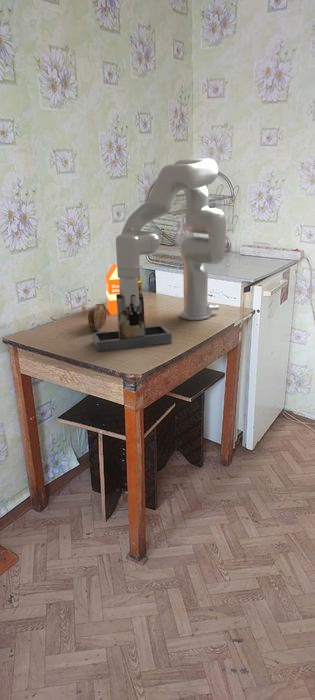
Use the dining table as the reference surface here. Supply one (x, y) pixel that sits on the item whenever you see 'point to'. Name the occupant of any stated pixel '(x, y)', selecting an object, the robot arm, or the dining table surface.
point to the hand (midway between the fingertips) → (130, 321)
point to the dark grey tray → (131, 339)
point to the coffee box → (123, 319)
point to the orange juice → (112, 289)
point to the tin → (97, 317)
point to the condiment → (140, 286)
